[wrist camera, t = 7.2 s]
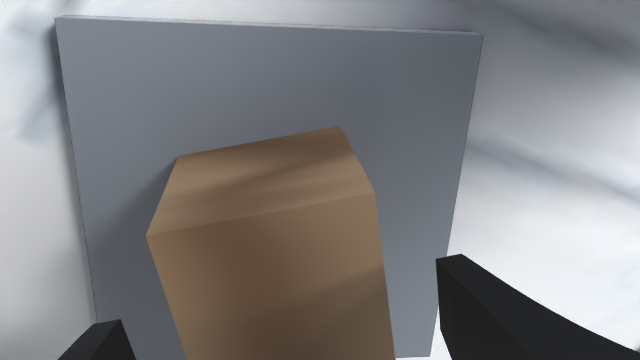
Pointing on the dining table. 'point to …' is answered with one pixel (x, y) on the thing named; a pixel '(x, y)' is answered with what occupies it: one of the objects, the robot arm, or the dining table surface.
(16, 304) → the dining table surface
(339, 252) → the tan cube
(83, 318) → the dining table surface
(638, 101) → the dining table surface
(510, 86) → the dining table surface
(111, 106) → the slate coaster
